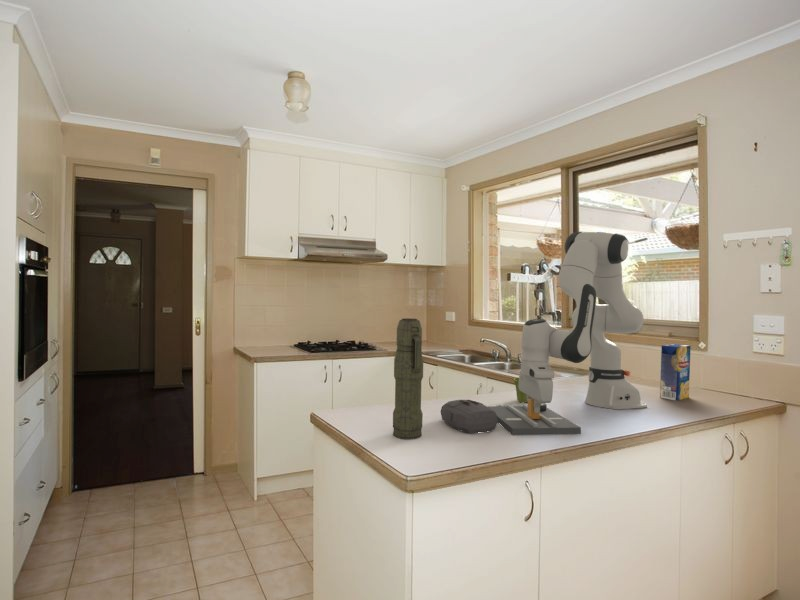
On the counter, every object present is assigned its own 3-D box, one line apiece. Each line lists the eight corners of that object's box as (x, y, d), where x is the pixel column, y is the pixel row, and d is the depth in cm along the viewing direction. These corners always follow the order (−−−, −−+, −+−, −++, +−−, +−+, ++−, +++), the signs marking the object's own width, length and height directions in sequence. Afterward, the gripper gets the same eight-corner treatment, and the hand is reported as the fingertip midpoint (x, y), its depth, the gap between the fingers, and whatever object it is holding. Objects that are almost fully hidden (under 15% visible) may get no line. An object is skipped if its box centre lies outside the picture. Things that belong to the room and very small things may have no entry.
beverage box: (688, 397, 212) (690, 345, 211) (676, 400, 205) (678, 347, 205) (672, 394, 217) (673, 343, 217) (659, 397, 211) (661, 345, 210)
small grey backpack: (503, 431, 158) (468, 415, 176) (504, 404, 157) (469, 392, 175) (463, 436, 151) (431, 420, 169) (463, 409, 151) (431, 395, 169)
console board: (543, 411, 183) (544, 399, 183) (580, 433, 156) (581, 420, 155) (485, 411, 181) (485, 400, 180) (512, 435, 153) (512, 421, 153)
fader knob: (536, 416, 167) (536, 398, 166) (539, 418, 164) (540, 400, 163) (527, 416, 166) (527, 398, 166) (530, 419, 163) (530, 400, 163)
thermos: (407, 442, 143) (409, 320, 142) (384, 432, 153) (386, 318, 152) (431, 437, 149) (433, 319, 148) (407, 428, 158) (409, 317, 157)
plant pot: (528, 405, 192) (528, 382, 192) (508, 400, 200) (508, 379, 199) (542, 401, 199) (542, 380, 198) (522, 397, 206) (522, 376, 205)
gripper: (514, 363, 174) (513, 403, 175) (537, 374, 154) (536, 418, 154) (531, 363, 175) (530, 403, 175) (557, 374, 155) (555, 418, 155)
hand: (533, 410), depth 165 cm, fingers closed on fader knob, 3 cm apart
